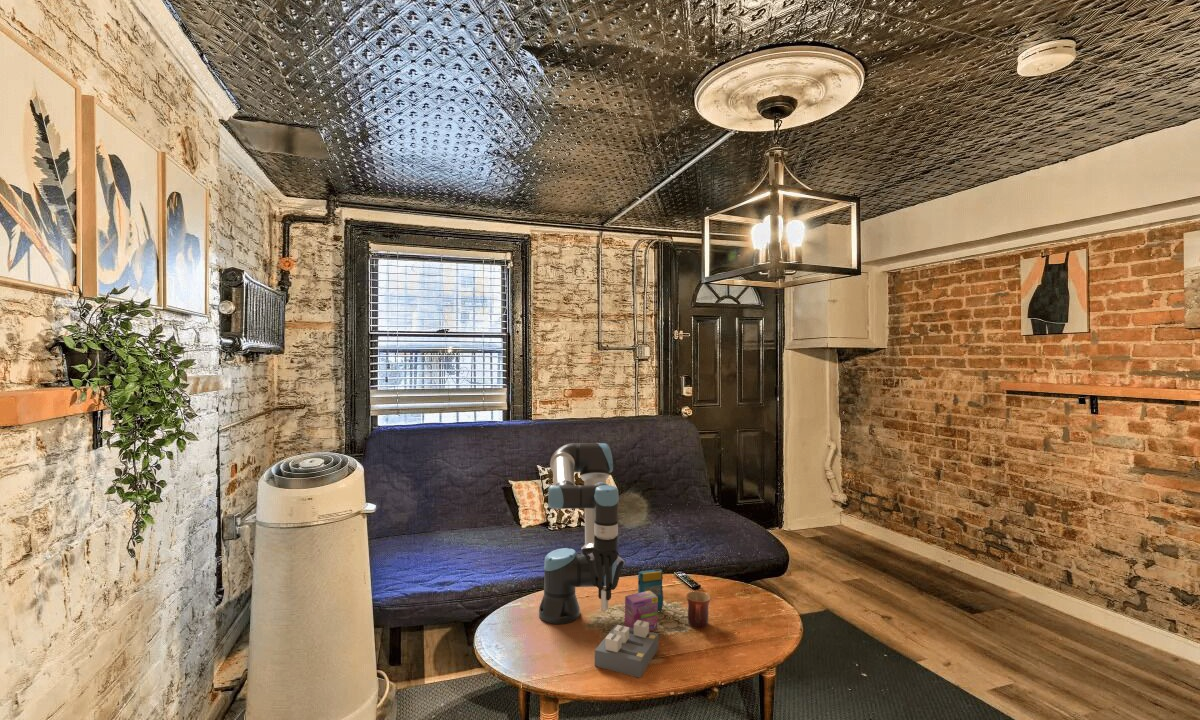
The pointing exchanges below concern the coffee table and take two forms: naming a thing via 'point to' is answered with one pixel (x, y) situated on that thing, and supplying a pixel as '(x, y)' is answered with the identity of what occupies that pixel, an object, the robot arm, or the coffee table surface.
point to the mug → (698, 609)
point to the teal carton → (652, 584)
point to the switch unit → (628, 654)
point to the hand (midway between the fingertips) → (604, 609)
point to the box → (641, 609)
